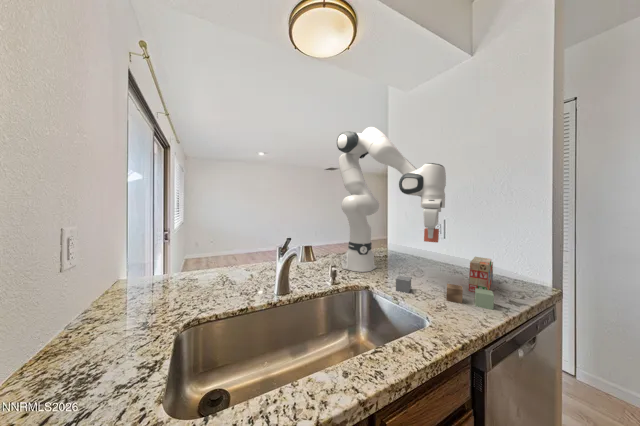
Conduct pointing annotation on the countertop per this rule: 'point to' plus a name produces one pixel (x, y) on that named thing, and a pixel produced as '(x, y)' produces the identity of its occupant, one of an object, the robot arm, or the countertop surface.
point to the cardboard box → (480, 274)
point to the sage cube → (484, 298)
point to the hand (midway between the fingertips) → (431, 237)
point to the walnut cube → (454, 293)
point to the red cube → (435, 236)
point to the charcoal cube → (403, 284)
